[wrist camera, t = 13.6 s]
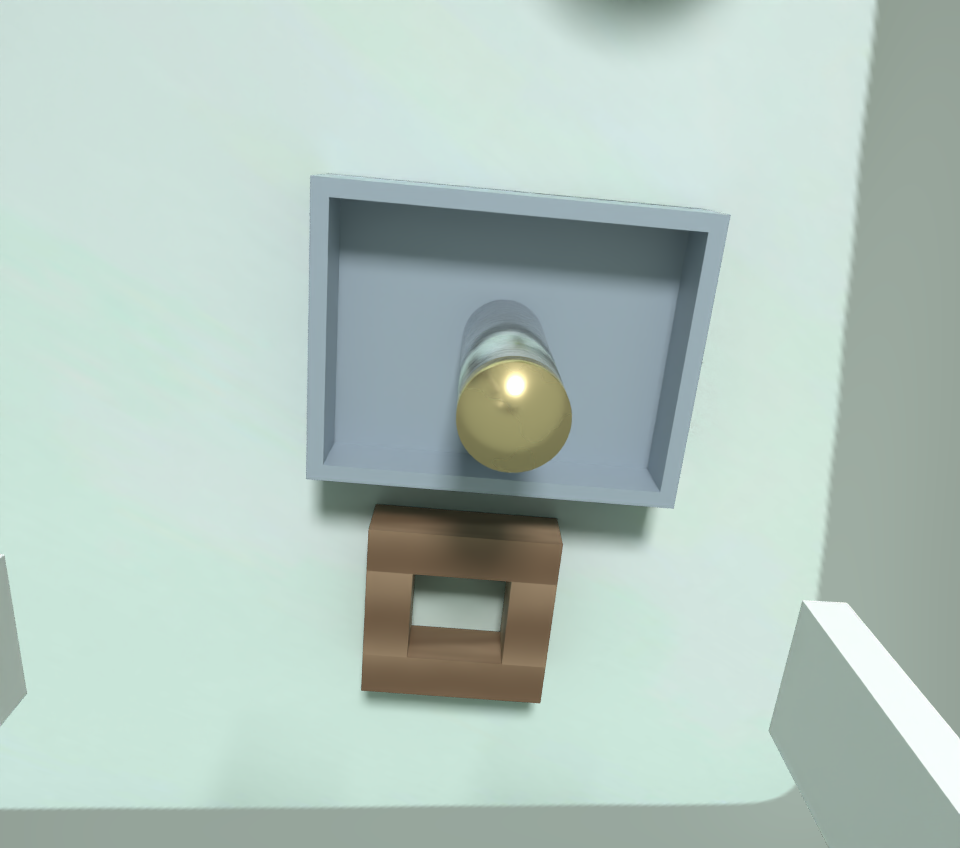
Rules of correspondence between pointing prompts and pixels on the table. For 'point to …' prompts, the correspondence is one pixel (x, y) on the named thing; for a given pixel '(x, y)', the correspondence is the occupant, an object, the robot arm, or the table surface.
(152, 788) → the table surface
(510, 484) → the tray
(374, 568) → the socket block
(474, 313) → the pin
